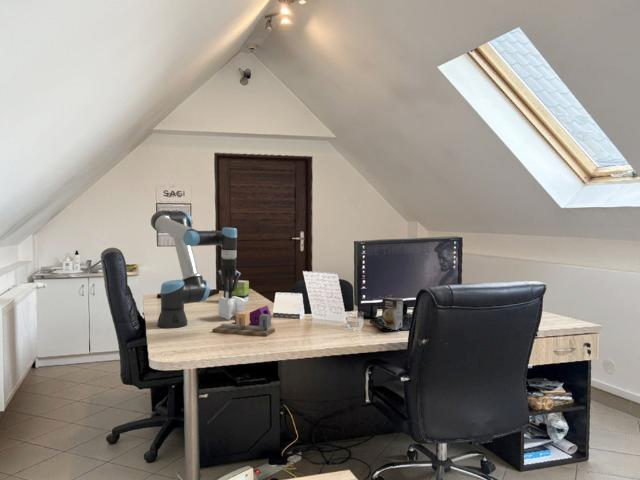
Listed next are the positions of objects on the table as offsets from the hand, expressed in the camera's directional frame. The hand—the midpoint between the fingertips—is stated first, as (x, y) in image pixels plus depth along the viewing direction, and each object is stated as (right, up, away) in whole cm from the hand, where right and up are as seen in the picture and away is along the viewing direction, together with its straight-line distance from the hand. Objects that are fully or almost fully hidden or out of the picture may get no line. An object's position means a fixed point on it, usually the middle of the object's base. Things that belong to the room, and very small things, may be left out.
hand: (227, 304), depth 246 cm
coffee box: (+84, -14, +7) cm, 86 cm away
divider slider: (+8, -11, -3) cm, 14 cm away
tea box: (-11, -10, +88) cm, 90 cm away
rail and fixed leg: (+9, -12, -3) cm, 15 cm away
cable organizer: (-4, -12, +32) cm, 35 cm away
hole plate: (+9, -13, -3) cm, 16 cm away
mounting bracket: (+10, -13, +16) cm, 23 cm away
